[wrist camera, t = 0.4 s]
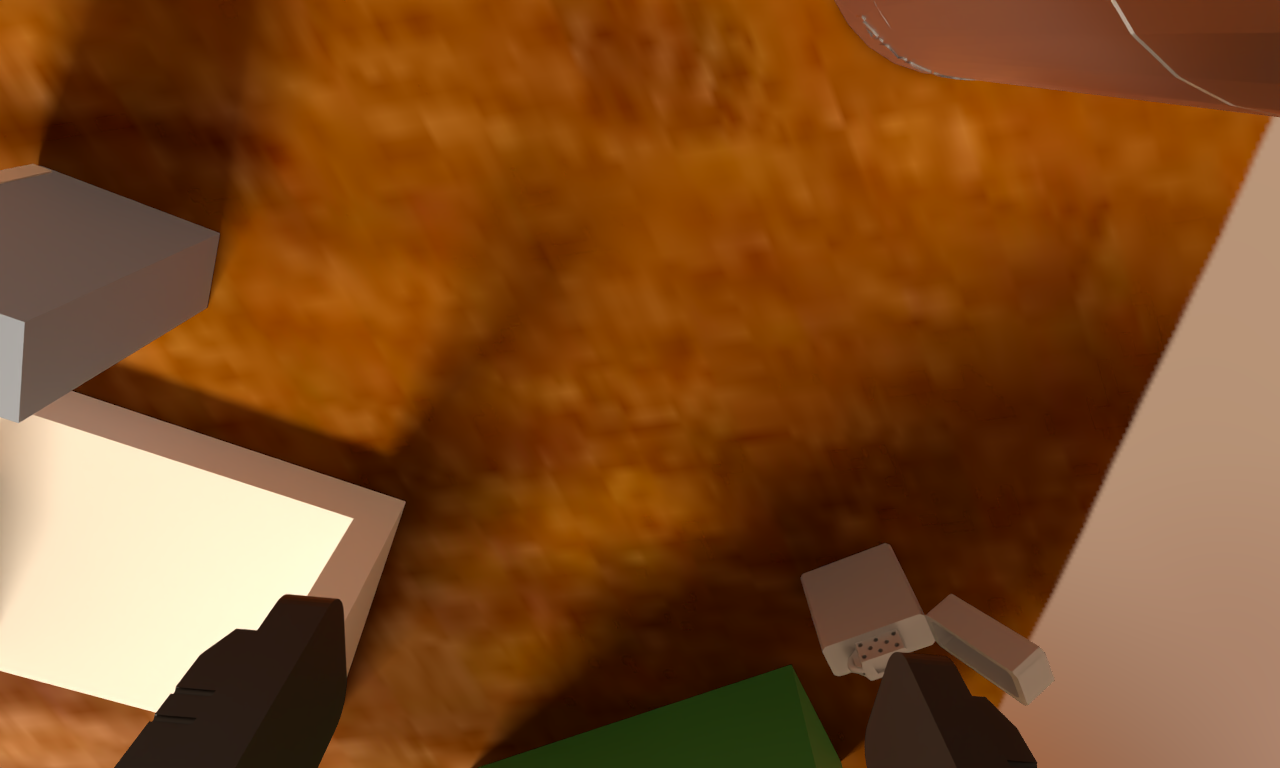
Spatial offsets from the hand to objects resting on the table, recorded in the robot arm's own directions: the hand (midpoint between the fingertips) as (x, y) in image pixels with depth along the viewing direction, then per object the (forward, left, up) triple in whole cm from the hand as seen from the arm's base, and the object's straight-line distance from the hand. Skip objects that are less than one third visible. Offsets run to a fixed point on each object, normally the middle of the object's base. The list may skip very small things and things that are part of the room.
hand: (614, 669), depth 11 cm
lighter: (+7, +15, -18) cm, 24 cm away
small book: (+5, -17, -18) cm, 25 cm away
